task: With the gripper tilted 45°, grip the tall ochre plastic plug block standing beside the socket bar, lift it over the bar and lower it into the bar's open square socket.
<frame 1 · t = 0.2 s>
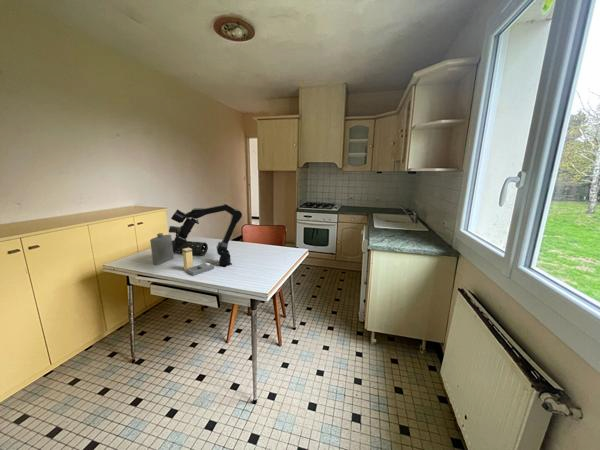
hand: (174, 248, 142), 15 cm above the table, tool tilted 35°, fingers open, 9 cm apart
flask: (163, 261, 161), on the table
socket bar: (200, 270, 146), on the table
muzzle brake: (188, 254, 177), on the table
plug: (188, 269, 147), on the table
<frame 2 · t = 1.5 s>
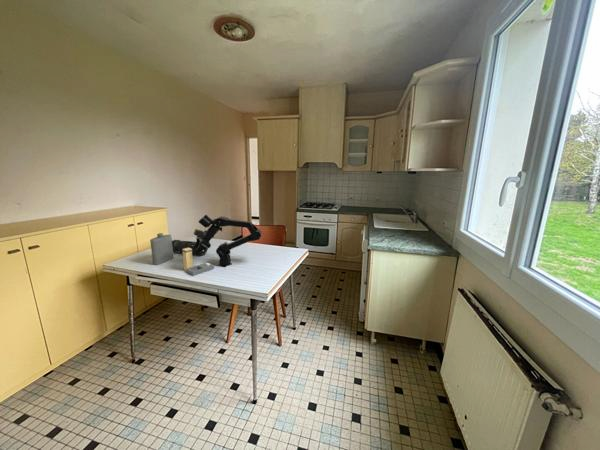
hand: (194, 250, 147), 12 cm above the table, tool tilted 45°, fingers open, 9 cm apart
nothing on the table moved.
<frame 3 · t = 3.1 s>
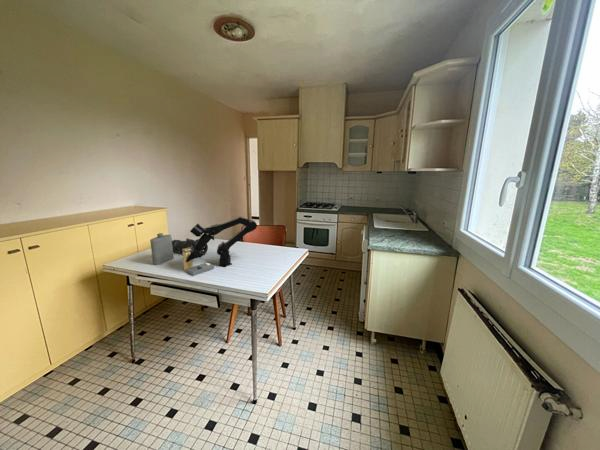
hand: (185, 260, 145), 7 cm above the table, tool tilted 45°, fingers closed on plug, 5 cm apart
plug: (188, 269, 147), on the table, touching gripper
everything else where it was.
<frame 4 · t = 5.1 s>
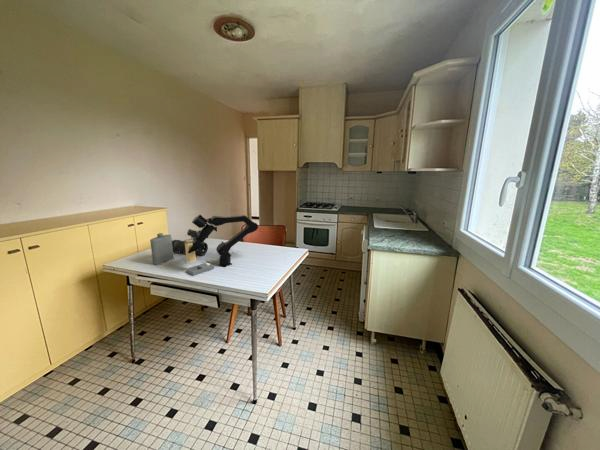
hand: (187, 251, 143), 13 cm above the table, tool tilted 45°, fingers closed on plug, 5 cm apart
plug: (191, 261, 145), point 6 cm above the table, touching gripper
everything else where it was.
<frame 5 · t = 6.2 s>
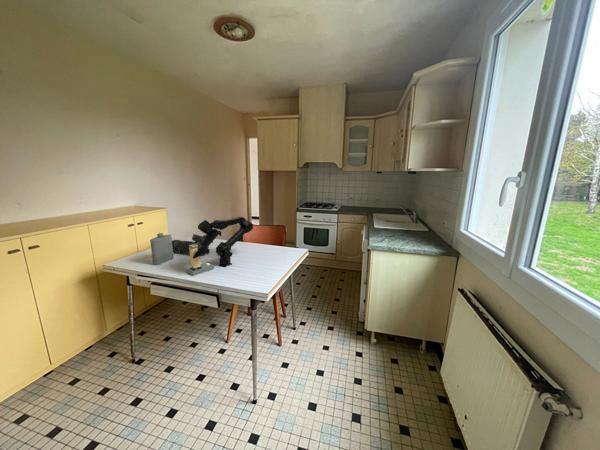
hand: (192, 256, 141), 10 cm above the table, tool tilted 45°, fingers closed on plug, 5 cm apart
plug: (195, 266, 143), point 4 cm above the table, touching gripper
everything else where it was.
when the fingers open (8 cm above the table, at t = 7.1 s): plug stays where it is, resting on socket bar.
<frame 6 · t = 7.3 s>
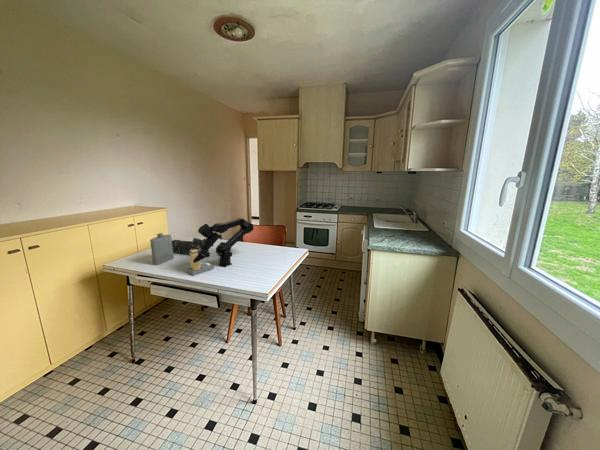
hand: (192, 260, 142), 8 cm above the table, tool tilted 45°, fingers open, 7 cm apart
plug: (196, 271, 144), point 1 cm above the table, touching socket bar
everything else where it was.
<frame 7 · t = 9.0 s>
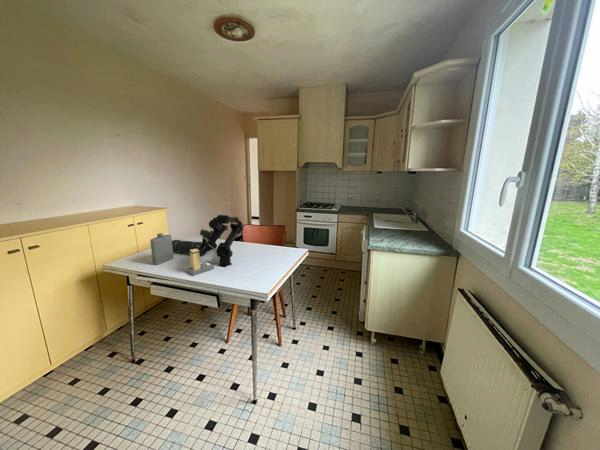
hand: (200, 251, 143), 13 cm above the table, tool tilted 45°, fingers open, 9 cm apart
nothing on the table moved.
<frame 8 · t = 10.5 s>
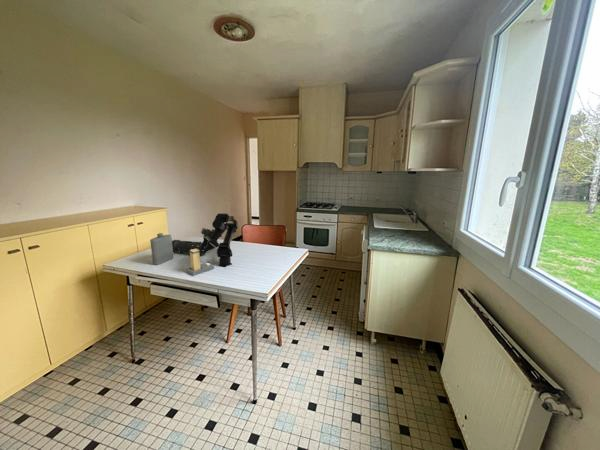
hand: (201, 250, 143), 14 cm above the table, tool tilted 45°, fingers open, 9 cm apart
nothing on the table moved.
at the end: plug 0.1 cm from the target spot on the socket bar, point 0.5 cm above the socket bar's base; plug tilted 0°; the gripper is holding nothing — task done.
